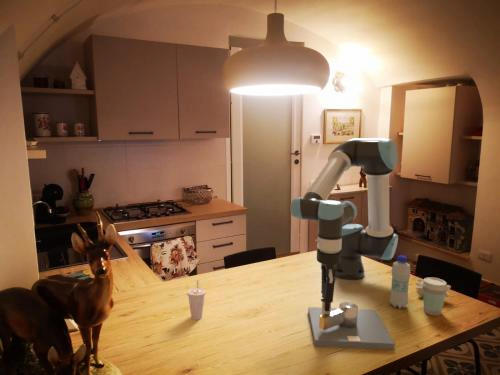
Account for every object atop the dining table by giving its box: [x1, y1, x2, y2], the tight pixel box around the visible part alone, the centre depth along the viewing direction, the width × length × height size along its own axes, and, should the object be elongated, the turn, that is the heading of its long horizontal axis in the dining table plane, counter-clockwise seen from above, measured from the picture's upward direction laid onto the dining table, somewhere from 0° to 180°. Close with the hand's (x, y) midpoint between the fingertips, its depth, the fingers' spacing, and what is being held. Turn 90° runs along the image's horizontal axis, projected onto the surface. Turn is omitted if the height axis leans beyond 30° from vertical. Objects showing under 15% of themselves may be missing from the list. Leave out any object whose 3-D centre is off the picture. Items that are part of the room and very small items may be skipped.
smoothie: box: [186, 279, 206, 321], centre depth 131 cm, size 6×6×14 cm
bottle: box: [389, 254, 412, 309], centre depth 141 cm, size 7×7×20 cm
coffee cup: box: [422, 276, 448, 317], centre depth 137 cm, size 8×8×12 cm
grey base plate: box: [307, 306, 396, 351], centre depth 125 cm, size 22×24×2 cm
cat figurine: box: [415, 278, 452, 298], centre depth 150 cm, size 8×7×12 cm
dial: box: [319, 301, 359, 330], centre depth 122 cm, size 15×6×6 cm, turn 123°
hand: (325, 318), depth 122 cm, fingers closed
